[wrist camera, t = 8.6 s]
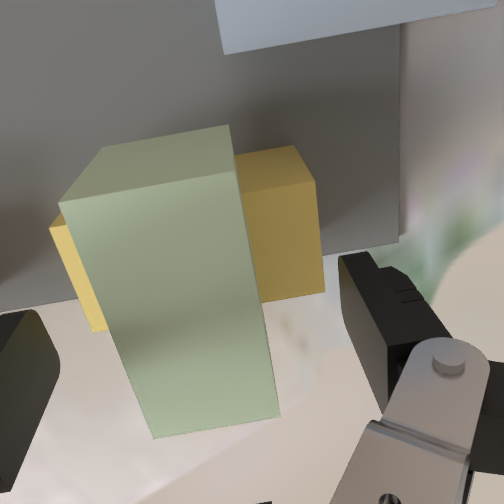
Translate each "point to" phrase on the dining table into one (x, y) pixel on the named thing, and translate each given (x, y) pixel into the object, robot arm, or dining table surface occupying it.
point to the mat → (183, 116)
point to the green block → (176, 278)
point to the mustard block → (259, 227)
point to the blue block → (320, 18)
